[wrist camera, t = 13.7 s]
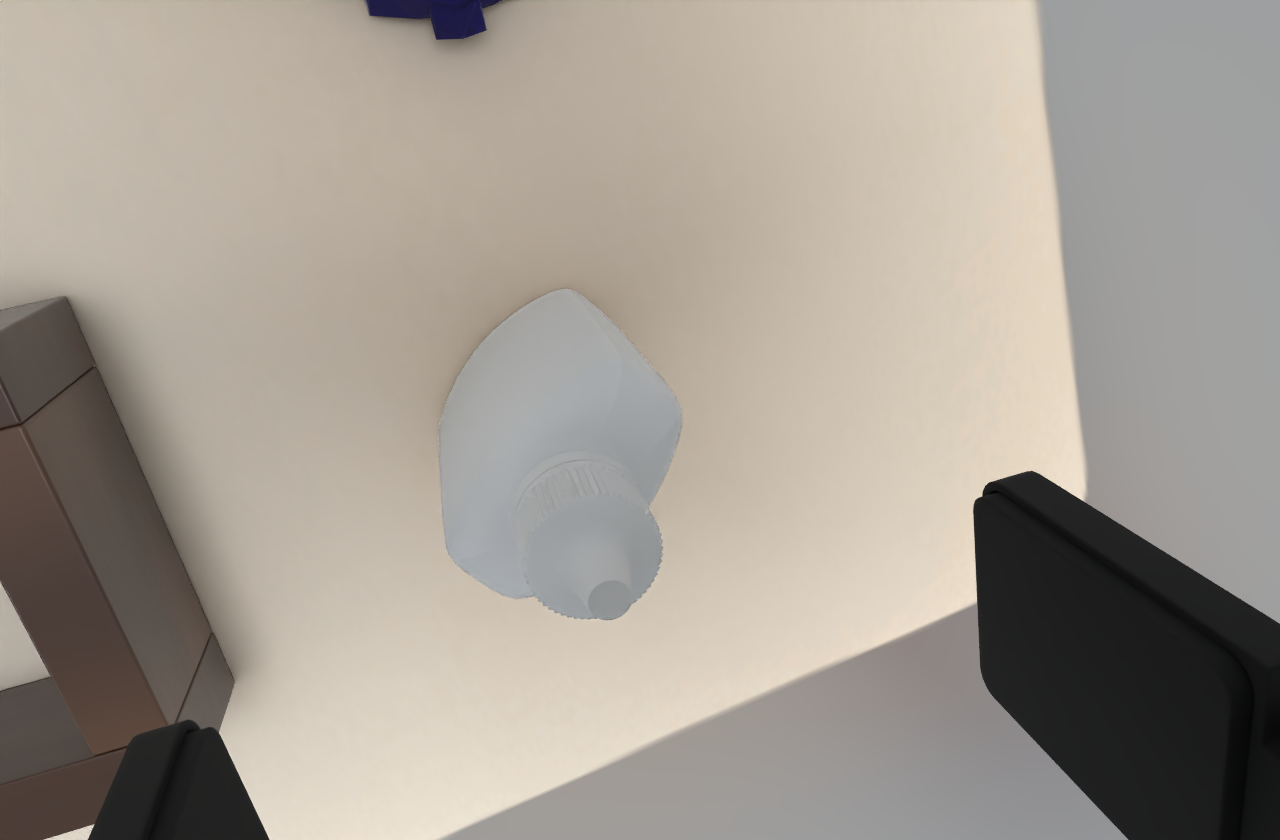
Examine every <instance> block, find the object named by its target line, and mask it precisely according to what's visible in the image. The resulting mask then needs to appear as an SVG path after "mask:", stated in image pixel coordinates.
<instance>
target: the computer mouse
mask: <svg viewBox="0 0 1280 840" xmlns="http://www.w3.org/2000/svg"><path fill="white" fill-rule="evenodd" d="M365 1H366V5H367V9H368V13H369V16H383V17H397V18H411V19H423V18H431V21H432V25H433V29H434V33H435V37H436V40H442V39H464V38H467V37H469V36H472V35H475V34H478V33H480V32H483V31H486V30H487V27H486V23H485V19H484V15H483V11H482V8H485V7H487V6H490V5H493V4H495V3H497V2H499V1H501V0H365Z"/></svg>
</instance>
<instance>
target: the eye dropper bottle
mask: <svg viewBox="0 0 1280 840" xmlns="http://www.w3.org/2000/svg"><path fill="white" fill-rule="evenodd" d="M681 427H682V408H681V406H680V403H679V402H678V400H677V398H676V397H675V395H674V393H673V392H672V390H671V389H670V388H669V387H668V385H667V384H666V383H665V381H664V380H663V379H662V378H661V376H660V375H659V374H658V373H657V372H656V371H655V369H654V368H653V367H652V366H651V365H650V363H649V362H648V361H647V360H646V359H645V358H644V356H643V355H642V354H641V353H640V352H639V351H638V349H637V348H636V347H635V346H634V345H633V344H632V343H631V341H630V340H629V339H628V338H627V337H626V336H625V334H624V333H623V332H622V331H621V330H620V329H619V328H618V327H617V325H616V324H615V323H614V322H612V321H611V320H610V319H609V318H608V317H607V316H606V315H605V314H604V313H602V312H601V311H600V310H599V309H598V308H597V307H595V306H594V305H593V304H592V303H591V302H590V301H588V300H587V299H586V298H585V297H583V296H582V295H581V294H579V293H578V292H576V291H573V290H571V289H558V290H554V291H552V292H550V293H547V294H545V295H543V296H541V297H539V298H537V299H535V300H534V301H532V302H530V303H529V304H527V305H525V306H524V307H522V308H521V309H519V310H518V311H516V312H515V313H513V314H512V315H511V316H510V317H508V318H507V319H506V320H504V321H503V322H502V323H501V324H500V325H499V326H497V327H496V328H495V329H494V330H493V331H492V332H491V333H490V334H489V335H488V336H487V337H486V338H485V339H484V340H483V342H482V343H481V344H480V345H479V346H478V347H477V349H476V350H475V351H474V352H473V354H472V355H471V357H470V358H469V359H468V361H467V362H466V364H465V365H464V367H463V369H462V370H461V372H460V374H459V375H458V377H457V379H456V381H455V383H454V385H453V387H452V389H451V391H450V394H449V396H448V399H447V401H446V404H445V407H444V410H443V413H442V416H441V420H440V424H439V429H438V438H439V461H440V482H441V500H442V516H443V526H444V535H445V544H446V549H447V551H448V554H449V555H450V557H451V558H452V559H453V561H454V562H455V563H456V564H457V565H458V566H459V567H460V568H461V569H462V570H464V571H465V572H466V573H468V574H469V575H470V576H472V577H473V578H475V579H476V580H478V581H479V582H481V583H482V584H484V585H485V586H487V587H489V588H490V589H492V590H494V591H495V592H497V593H499V594H501V595H503V596H506V597H510V598H514V599H520V598H528V597H532V596H535V597H537V599H538V601H540V602H542V603H543V605H544V606H548V609H550V610H554V612H555V613H560V614H561V615H567V617H573V618H574V619H576V618H580V619H586V618H587V619H592V618H595V619H597V618H599V619H602V620H613V619H616V618H618V617H620V616H622V615H623V614H625V613H626V612H627V610H628V609H629V607H630V605H631V604H632V603H634V602H636V600H637V599H639V598H640V597H641V596H642V594H644V593H645V592H646V589H648V588H649V587H650V586H651V585H650V584H651V583H652V582H653V581H654V577H655V576H656V575H657V571H658V570H659V568H660V567H659V565H660V563H661V562H662V561H661V557H662V555H663V554H662V552H661V551H662V549H663V547H662V545H661V544H662V542H663V541H662V539H661V533H660V531H659V529H660V528H659V527H658V525H657V522H656V520H655V518H654V517H653V515H652V513H651V511H650V509H649V508H648V507H649V505H650V503H651V502H652V500H653V499H654V497H655V495H656V493H657V491H658V489H659V488H660V486H661V483H662V481H663V479H664V477H665V475H666V473H667V471H668V468H669V466H670V463H671V460H672V458H673V455H674V452H675V449H676V446H677V443H678V440H679V435H680V431H681Z"/></svg>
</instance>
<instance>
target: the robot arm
mask: <svg viewBox="0 0 1280 840" xmlns="http://www.w3.org/2000/svg"><path fill="white" fill-rule="evenodd" d="M973 514H974V537H975V559H976V582H977V604H978V626H979V649H980V668H981V673H982V677H983V680H984V682H985V684H986V687H987V688H988V690H989V692H990V693H991V694H992V696H993V697H994V698H995V699H996V700H997V701H998V702H999V703H1000V704H1001V705H1002V707H1003V708H1004V709H1005V710H1006V711H1007V712H1008V713H1009V714H1010V715H1011V716H1012V717H1013V718H1014V719H1015V720H1016V721H1017V722H1018V724H1020V726H1021V727H1022V728H1023V729H1024V730H1025V731H1026V732H1027V733H1028V734H1029V735H1030V736H1031V737H1032V738H1033V739H1034V740H1035V741H1036V742H1037V744H1038V745H1040V747H1041V748H1042V749H1043V750H1044V751H1045V752H1046V753H1047V754H1048V755H1049V756H1050V757H1051V758H1052V759H1053V760H1054V761H1055V763H1056V764H1058V766H1059V767H1060V768H1061V769H1062V770H1063V771H1064V772H1065V773H1066V774H1067V775H1068V776H1069V777H1070V778H1071V779H1072V780H1073V781H1074V783H1075V784H1076V785H1077V786H1078V787H1079V788H1080V789H1081V790H1082V791H1083V792H1084V793H1085V794H1086V795H1087V796H1088V797H1089V798H1090V799H1091V801H1092V802H1093V803H1094V804H1095V805H1096V806H1097V807H1098V808H1099V809H1100V810H1101V811H1102V812H1103V813H1104V814H1105V815H1106V816H1107V817H1108V819H1110V821H1111V822H1112V823H1113V824H1114V825H1115V826H1116V827H1117V828H1118V829H1119V830H1120V831H1121V832H1122V833H1123V834H1124V835H1125V836H1126V837H1127V838H1128V840H1280V624H1279V623H1277V622H1276V621H1274V620H1273V619H1271V618H1270V617H1268V616H1266V615H1265V614H1263V613H1262V612H1260V611H1258V610H1257V609H1255V608H1254V607H1252V606H1250V605H1248V604H1247V603H1245V602H1244V601H1242V600H1241V599H1239V598H1237V597H1236V596H1234V595H1232V594H1231V593H1229V592H1228V591H1226V590H1224V589H1223V588H1221V587H1220V586H1218V585H1217V584H1215V583H1213V582H1212V581H1210V580H1209V579H1207V578H1205V577H1204V576H1202V575H1201V574H1199V573H1197V572H1196V571H1194V570H1193V569H1191V568H1189V567H1188V566H1186V565H1185V564H1183V563H1181V562H1180V561H1178V560H1177V559H1175V558H1173V557H1172V556H1170V555H1169V554H1167V553H1165V552H1164V551H1162V550H1160V549H1159V548H1157V547H1156V546H1154V545H1152V544H1151V543H1149V542H1148V541H1146V540H1144V539H1143V538H1141V537H1140V536H1138V535H1136V534H1134V533H1133V532H1132V531H1130V530H1128V529H1127V528H1125V527H1124V526H1122V525H1120V524H1118V523H1117V522H1116V521H1114V520H1112V519H1111V518H1109V517H1108V516H1106V515H1104V514H1103V513H1101V512H1100V511H1098V510H1096V509H1094V508H1093V507H1092V506H1090V505H1088V504H1087V503H1085V502H1083V501H1082V500H1080V499H1079V498H1077V497H1075V496H1074V495H1072V494H1071V493H1069V492H1067V491H1066V490H1064V489H1063V488H1061V487H1059V486H1058V485H1056V484H1055V483H1053V482H1051V481H1050V480H1048V479H1047V478H1045V477H1043V476H1042V475H1040V474H1038V473H1036V472H1033V471H1027V472H1023V473H1020V474H1017V475H1013V476H1010V477H1006V478H1003V479H1000V480H996V481H993V482H990V483H988V484H987V485H986V486H985V488H984V490H983V496H982V497H979V498H978V499H976V500H975V503H974V509H973ZM88 840H269V838H268V836H267V834H266V831H265V829H264V827H263V825H262V823H261V821H260V819H259V817H258V814H257V812H256V810H255V808H254V806H253V804H252V802H251V800H250V797H249V795H248V793H247V791H246V789H245V787H244V785H243V783H242V781H241V778H240V776H239V774H238V772H237V770H236V768H235V766H234V764H233V761H232V759H231V757H230V755H229V753H228V751H227V749H226V747H225V745H224V742H223V740H222V738H221V736H220V734H219V733H218V731H217V730H216V729H215V728H214V727H207V728H204V729H200V727H199V725H198V724H197V723H196V722H194V721H193V720H189V719H188V720H185V721H181V722H178V723H174V724H171V725H168V726H164V727H161V728H158V729H154V730H151V731H147V732H144V733H141V734H138V735H136V736H134V737H133V738H132V740H131V741H130V743H129V745H128V747H127V750H126V752H125V754H124V757H123V759H122V761H121V764H120V766H119V768H118V771H117V773H116V775H115V778H114V780H113V782H112V785H111V787H110V789H109V792H108V794H107V796H106V799H105V801H104V803H103V806H102V808H101V810H100V813H99V815H98V817H97V820H96V822H95V824H94V827H93V829H92V831H91V834H90V836H89V838H88Z"/></svg>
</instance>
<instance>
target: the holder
mask: <svg viewBox="0 0 1280 840" xmlns="http://www.w3.org/2000/svg"><path fill="white" fill-rule="evenodd" d="M94 365H95V363H94V360H93V358H92V356H91V353H90V351H89V349H88V347H87V344H86V342H85V340H84V337H83V335H82V333H81V331H80V328H79V326H78V324H77V321H76V319H75V317H74V315H73V312H72V310H71V308H70V305H69V303H68V301H67V299H66V297H63V296H62V297H57V298H53V299H48V300H44V301H39V302H35V303H30V304H26V305H21V306H17V307H12V308H8V309H3V310H0V581H1V583H2V585H3V587H4V589H5V591H6V593H7V595H8V596H9V598H10V600H11V602H12V604H13V606H14V608H15V610H16V612H17V613H18V615H19V617H20V619H21V621H22V623H23V625H24V627H25V629H26V630H27V632H28V634H29V636H30V638H31V640H32V642H33V644H34V646H35V647H36V649H37V651H38V653H39V655H40V657H41V659H42V661H43V663H44V664H45V666H46V668H47V670H48V672H49V674H50V676H51V678H47V679H44V680H40V681H37V682H33V683H30V684H26V685H22V686H19V687H15V688H12V689H8V690H5V691H1V692H0V840H44V839H47V838H50V837H53V836H57V835H60V834H63V833H67V832H70V831H73V830H76V829H80V828H83V827H86V826H90V825H93V824H95V822H96V820H97V817H98V815H99V813H100V810H101V808H102V806H103V803H104V801H105V799H106V796H107V794H108V792H109V789H110V787H111V785H112V782H113V780H114V778H115V775H116V773H117V771H118V768H119V766H120V764H121V761H122V759H123V757H124V754H125V752H126V750H127V747H128V745H129V743H130V741H131V740H132V738H133V737H134V736H136V735H138V734H141V733H144V732H147V731H151V730H154V729H158V728H161V727H164V726H168V725H171V724H174V723H178V722H181V721H185V720H188V719H189V720H193V721H194V722H196V723H197V724H198V725H199V727H200V729H204V728H207V727H214V728H215V729H216V730H217V731H218V733H219V730H220V727H221V724H222V721H223V718H224V715H225V711H226V708H227V705H228V702H229V699H230V696H231V693H232V690H233V687H234V684H235V682H234V680H233V677H232V675H231V673H230V671H229V668H228V666H227V664H226V661H225V659H224V657H223V655H222V652H221V650H220V648H219V645H218V643H217V641H216V639H215V636H214V634H213V633H211V628H210V626H209V624H208V622H207V619H206V617H205V615H204V612H203V610H202V608H201V606H200V603H199V601H198V599H197V596H196V594H195V592H194V590H193V587H192V585H191V583H190V581H189V578H188V576H187V574H186V571H185V569H184V567H183V565H182V562H181V560H180V558H179V555H178V553H177V551H176V549H175V546H174V544H173V542H172V539H171V537H170V535H169V533H168V530H167V528H166V526H165V523H164V521H163V519H162V517H161V514H160V512H159V510H158V507H157V505H156V503H155V501H154V498H153V496H152V494H151V491H150V489H149V487H148V485H147V482H146V480H145V478H144V476H143V473H142V471H141V469H140V466H139V464H138V462H137V460H136V457H135V455H134V453H133V450H132V448H131V446H130V444H129V441H128V439H127V437H126V434H125V432H124V430H123V428H122V425H121V423H120V421H119V418H118V416H117V414H116V412H115V409H114V407H113V405H112V402H111V400H110V398H109V396H108V393H107V391H106V389H105V386H104V384H103V382H102V380H101V377H100V375H99V373H98V370H97V369H96V368H95V367H93V366H94Z"/></svg>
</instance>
